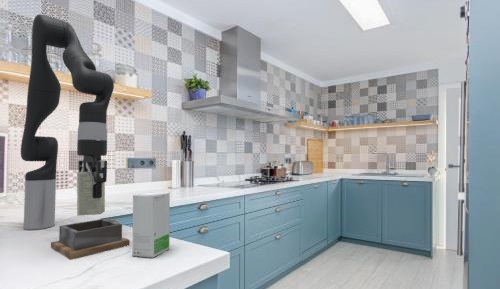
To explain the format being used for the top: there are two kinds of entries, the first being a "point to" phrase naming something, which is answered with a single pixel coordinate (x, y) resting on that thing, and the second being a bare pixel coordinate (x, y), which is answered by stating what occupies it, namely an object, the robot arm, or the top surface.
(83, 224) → the sleeve holder
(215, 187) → the top surface
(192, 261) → the top surface
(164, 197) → the skincare box
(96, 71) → the robot arm
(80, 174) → the skincare box
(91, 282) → the top surface
